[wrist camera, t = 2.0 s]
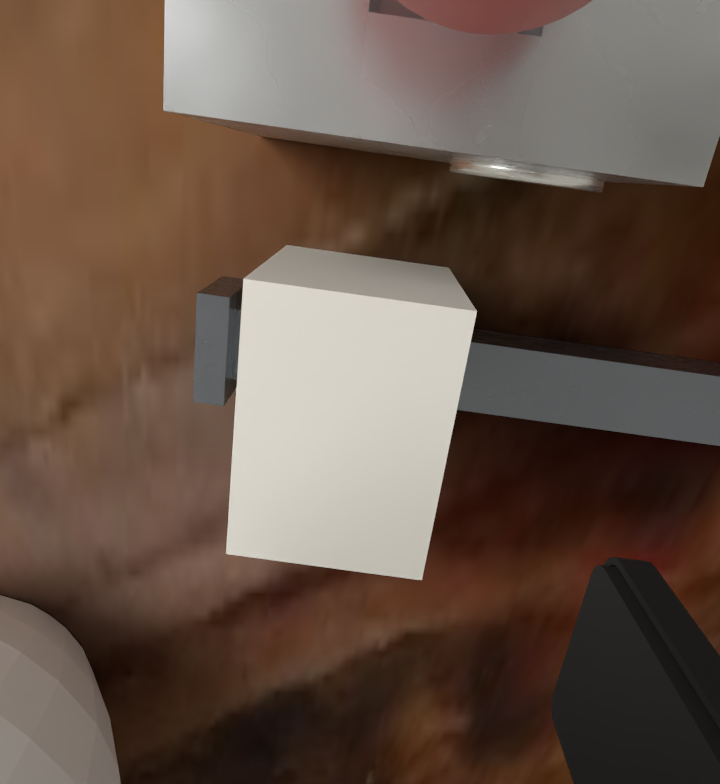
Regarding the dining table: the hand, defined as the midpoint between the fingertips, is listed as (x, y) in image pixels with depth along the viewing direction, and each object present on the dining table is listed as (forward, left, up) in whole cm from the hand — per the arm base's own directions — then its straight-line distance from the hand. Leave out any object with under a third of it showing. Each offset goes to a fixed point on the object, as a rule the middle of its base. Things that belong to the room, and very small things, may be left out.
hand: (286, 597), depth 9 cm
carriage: (0, 0, -13) cm, 13 cm away
